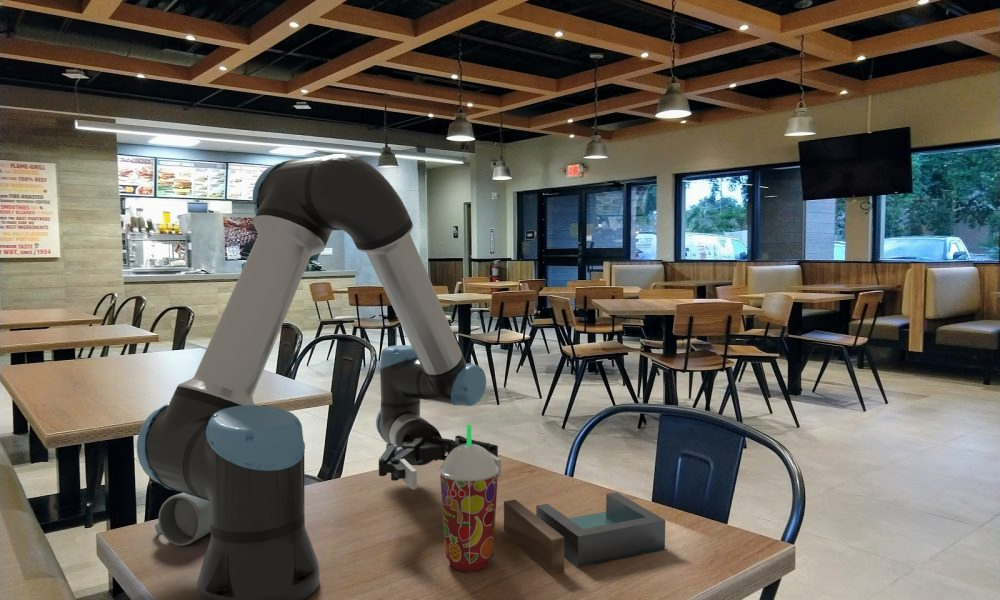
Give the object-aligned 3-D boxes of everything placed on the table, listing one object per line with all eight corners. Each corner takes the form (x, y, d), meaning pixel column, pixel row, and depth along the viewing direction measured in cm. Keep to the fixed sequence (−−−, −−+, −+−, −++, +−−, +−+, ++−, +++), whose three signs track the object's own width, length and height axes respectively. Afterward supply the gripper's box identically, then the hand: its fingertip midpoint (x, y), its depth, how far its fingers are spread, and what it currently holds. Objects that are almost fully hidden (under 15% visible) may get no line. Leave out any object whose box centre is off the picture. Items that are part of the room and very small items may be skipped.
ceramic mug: (234, 527, 109) (232, 481, 109) (200, 548, 101) (198, 498, 101) (178, 522, 112) (176, 476, 111) (141, 542, 104) (138, 493, 103)
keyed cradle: (578, 567, 95) (578, 536, 95) (530, 528, 109) (530, 501, 109) (664, 549, 101) (665, 519, 101) (609, 514, 115) (609, 488, 115)
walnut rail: (551, 575, 93) (551, 539, 93) (503, 532, 107) (503, 501, 107) (564, 572, 94) (564, 537, 93) (515, 529, 108) (515, 499, 108)
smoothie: (436, 553, 100) (436, 419, 98) (492, 548, 101) (492, 417, 100) (444, 579, 92) (443, 434, 90) (504, 573, 93) (504, 431, 92)
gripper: (479, 452, 127) (531, 487, 107) (346, 468, 116) (376, 511, 97) (479, 412, 126) (531, 440, 107) (345, 426, 116) (376, 459, 97)
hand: (457, 474), depth 102 cm, fingers open, 13 cm apart
